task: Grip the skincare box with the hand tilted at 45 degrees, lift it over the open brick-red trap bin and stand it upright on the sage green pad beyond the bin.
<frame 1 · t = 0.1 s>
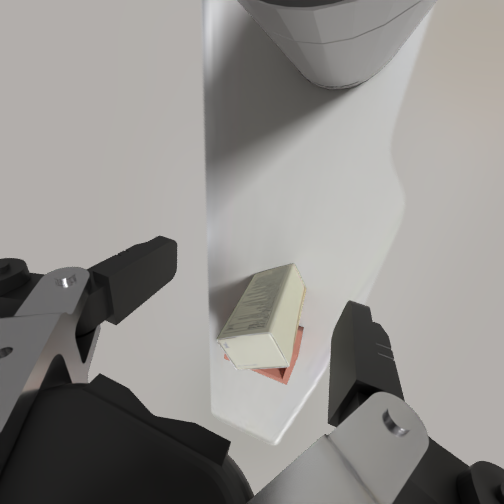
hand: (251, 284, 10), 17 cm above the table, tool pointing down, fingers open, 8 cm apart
skincare box: (280, 279, 31), on the table
trap bin: (267, 330, 37), on the table
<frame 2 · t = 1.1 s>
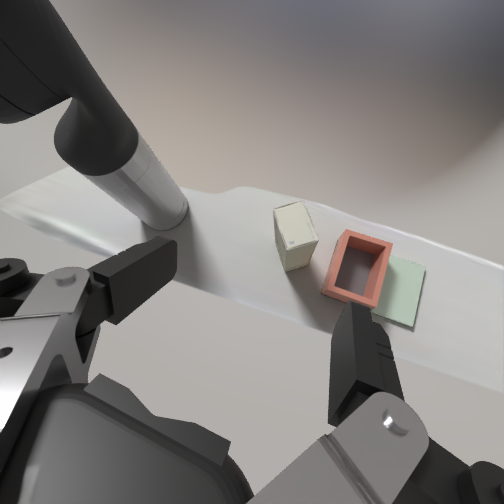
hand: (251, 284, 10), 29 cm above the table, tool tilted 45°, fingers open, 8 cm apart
skincare box: (290, 252, 41), on the table
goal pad: (396, 289, 37), on the table
trap bin: (350, 273, 39), on the table
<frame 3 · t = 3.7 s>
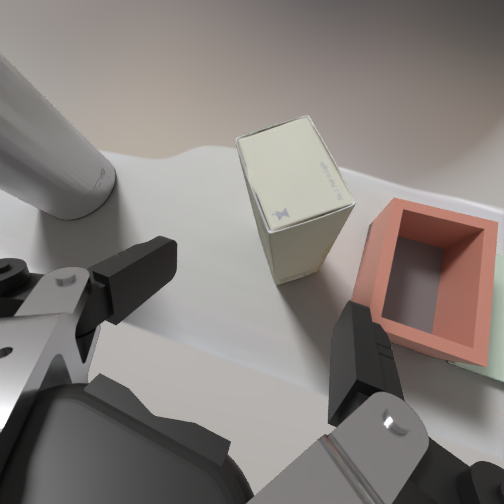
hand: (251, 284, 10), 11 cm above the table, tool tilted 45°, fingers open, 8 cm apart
skincare box: (285, 250, 23), on the table
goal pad: (495, 314, 19), on the table
trap bin: (398, 284, 20), on the table
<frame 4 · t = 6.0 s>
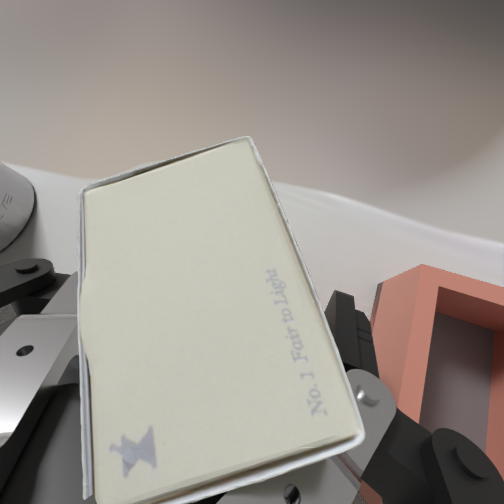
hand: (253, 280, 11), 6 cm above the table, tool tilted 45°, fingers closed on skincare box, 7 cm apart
skincare box: (254, 319, 16), on the table, touching gripper
trap bin: (423, 385, 13), on the table
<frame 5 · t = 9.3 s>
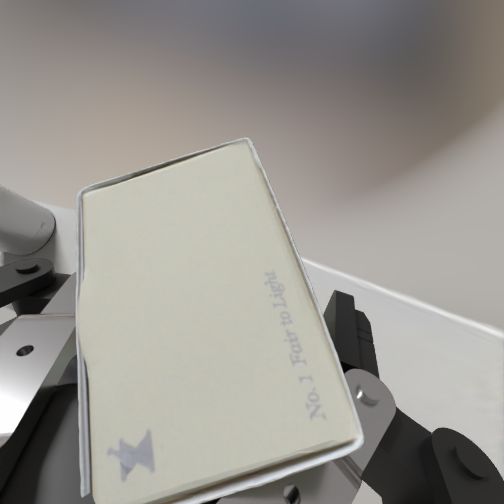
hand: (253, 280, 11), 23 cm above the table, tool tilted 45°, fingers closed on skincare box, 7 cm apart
skincare box: (254, 320, 16), point 17 cm above the table, touching gripper
when the fingers open (8 cm above the table, at t = 12.7 s): skincare box drops 1 cm, resting on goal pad.
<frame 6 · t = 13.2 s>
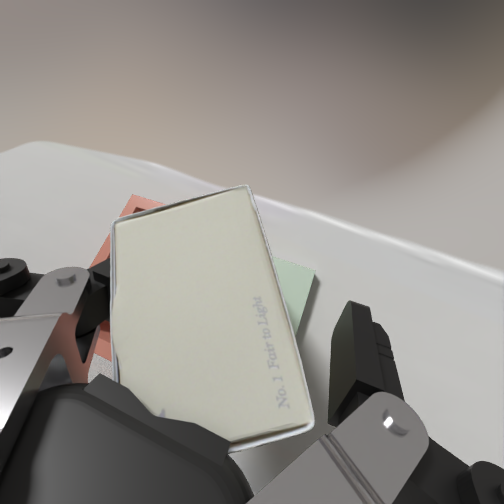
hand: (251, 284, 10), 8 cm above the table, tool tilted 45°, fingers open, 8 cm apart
skincare box: (252, 322, 17), point 1 cm above the table, touching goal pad
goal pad: (257, 320, 18), on the table
trap bin: (173, 287, 19), on the table
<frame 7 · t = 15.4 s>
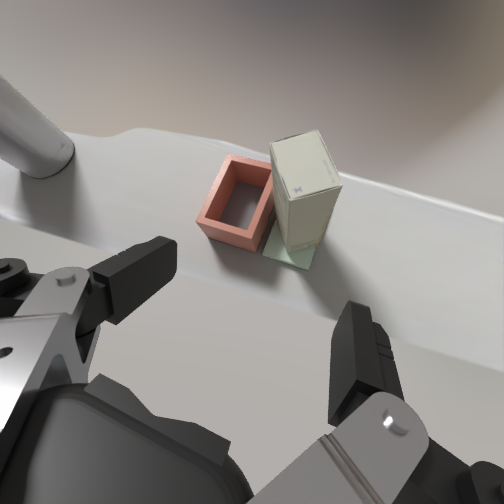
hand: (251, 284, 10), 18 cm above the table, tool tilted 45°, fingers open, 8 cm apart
skincare box: (294, 228, 30), point 1 cm above the table, touching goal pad
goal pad: (297, 228, 30), on the table
trap bin: (244, 213, 32), on the table
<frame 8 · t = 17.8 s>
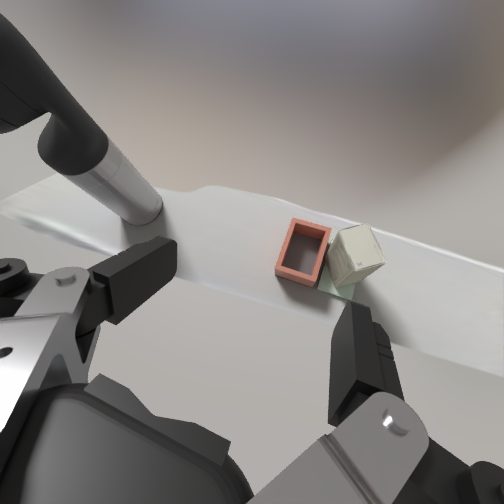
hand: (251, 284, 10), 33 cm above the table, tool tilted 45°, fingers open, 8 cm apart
skincare box: (339, 269, 42), point 1 cm above the table, touching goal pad
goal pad: (340, 269, 42), on the table
trap bin: (300, 256, 44), on the table
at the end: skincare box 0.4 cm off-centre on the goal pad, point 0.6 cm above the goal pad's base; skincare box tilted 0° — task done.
